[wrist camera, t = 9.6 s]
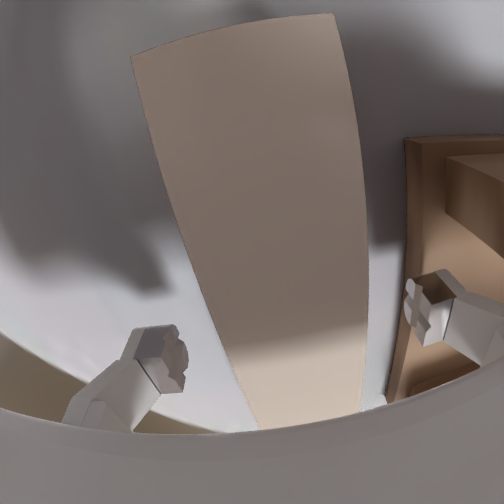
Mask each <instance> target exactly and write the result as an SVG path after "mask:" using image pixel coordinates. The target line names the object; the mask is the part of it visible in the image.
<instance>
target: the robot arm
mask: <svg viewBox="0 0 504 504" xmlns="http://www.w3.org/2000/svg"><path fill="white" fill-rule="evenodd" d="M406 290H407V292H408V293H409V294H408V296H407V297H406V298H405V301H404V311H405V316H406V319H407V321H408V323H409V325H410V326H412V327H414V328H416V331H415V335H416V336H417V338H418V340H419V341H420V343H421V345H422V347H424V346H428V345H431V344H434V343H437V342H440V341H443V340H444V341H443V342H445V343H446V344H448V345H450V346H451V347H453V348H454V349H456V350H457V351H459V352H460V353H462V354H464V355H465V356H467V357H468V358H470V359H471V360H473V361H474V362H476V363H477V364H479V365H480V368H479V369H477V370H475V371H472V372H470V373H468V374H466V375H464V376H461V377H459V378H457V379H455V380H452V381H450V382H448V383H445V384H443V385H440V386H438V387H435V388H433V389H430V390H427V391H425V392H422V393H419V394H416V395H414V396H411V397H408V398H405V399H402V400H399V401H396V402H393V403H389V404H386V405H383V406H379V407H376V408H372V409H369V410H365V411H361V412H358V413H354V414H350V415H345V416H341V417H337V418H332V419H327V420H322V421H317V422H312V423H306V424H301V425H295V426H288V427H281V428H274V429H266V430H257V431H247V432H235V433H219V434H192V435H191V434H190V435H189V434H185V435H182V434H180V435H179V434H176V435H175V434H174V435H173V434H145V433H134V432H133V431H132V430H133V429H134V428H135V427H136V425H137V424H138V423H139V422H140V420H141V419H142V418H143V417H144V415H145V414H146V413H147V412H148V410H149V409H150V408H151V407H152V405H153V404H154V403H155V402H156V400H157V399H158V398H159V397H160V395H161V394H167V393H181V392H183V389H184V383H185V378H186V377H185V375H184V374H183V372H184V371H185V370H186V369H187V368H188V362H189V359H188V351H187V348H186V345H185V343H184V342H183V341H181V340H180V339H178V336H179V331H178V329H177V327H176V326H175V325H173V324H169V325H160V326H149V327H141V328H135V329H133V330H132V332H131V335H130V337H129V339H128V342H127V344H126V346H125V349H124V351H123V353H122V356H121V358H120V360H116V361H115V362H114V363H112V364H111V365H110V366H109V367H108V368H106V369H105V370H104V371H103V372H102V373H101V374H99V375H98V376H97V377H96V378H95V379H93V380H92V381H91V382H90V383H89V384H88V385H86V386H85V387H84V388H83V389H82V390H81V391H79V392H78V393H77V394H76V395H75V396H74V397H73V398H72V399H71V402H70V404H69V406H68V408H67V411H66V413H65V415H64V418H63V420H62V422H61V423H57V422H52V421H48V420H43V419H39V418H35V417H30V416H27V415H23V414H19V413H15V412H11V411H9V410H6V409H3V408H0V504H504V304H503V303H500V302H497V301H495V300H492V299H489V298H487V297H484V296H482V295H479V294H476V293H474V292H471V293H469V292H468V291H467V290H466V289H465V288H464V287H463V286H462V285H461V284H460V283H459V282H458V280H457V279H456V278H455V277H454V276H453V275H452V274H451V273H450V272H449V271H448V270H447V269H444V268H443V269H440V270H437V271H433V272H432V273H428V274H424V275H421V276H417V277H413V278H410V279H408V280H407V283H406Z"/></svg>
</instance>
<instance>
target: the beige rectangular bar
mask: <svg viewBox="0 0 504 504" xmlns="http://www.w3.org/2000/svg"><path fill="white" fill-rule="evenodd" d="M130 58H131V62H132V67H133V71H134V75H135V79H136V84H137V88H138V92H139V96H140V99H141V103H142V107H143V111H144V115H145V119H146V122H147V126H148V130H149V133H150V137H151V140H152V144H153V147H154V151H155V154H156V158H157V161H158V164H159V168H160V171H161V174H162V177H163V181H164V184H165V187H166V190H167V193H168V197H169V200H170V203H171V206H172V209H173V212H174V215H175V218H176V221H177V224H178V227H179V230H180V233H181V236H182V239H183V242H184V245H185V247H186V250H187V253H188V256H189V259H190V262H191V264H192V267H193V270H194V273H195V275H196V278H197V281H198V284H199V286H200V289H201V292H202V294H203V297H204V299H205V302H206V305H207V307H208V310H209V312H210V315H211V318H212V320H213V323H214V325H215V328H216V330H217V333H218V335H219V338H220V340H221V342H222V345H223V347H224V350H225V352H226V355H227V357H228V359H229V362H230V364H231V366H232V369H233V371H234V373H235V376H236V378H237V380H238V383H239V385H240V387H241V390H242V392H243V394H244V396H245V399H246V401H247V403H248V405H249V407H250V410H251V412H252V414H253V416H254V418H255V420H256V423H257V425H258V427H259V429H260V430H266V429H274V428H281V427H288V426H295V425H301V424H306V423H312V422H317V421H322V420H327V419H332V418H337V417H341V416H345V415H350V414H354V413H358V412H360V407H361V399H362V391H363V382H364V371H365V360H366V346H367V328H368V298H369V259H368V229H367V211H366V197H365V185H364V174H363V165H362V156H361V148H360V140H359V133H358V126H357V119H356V113H355V107H354V101H353V96H352V90H351V85H350V80H349V75H348V70H347V66H346V61H345V57H344V53H343V48H342V44H341V40H340V36H339V32H338V29H337V25H336V21H335V18H334V14H333V13H325V14H309V15H297V16H287V17H279V18H272V19H265V20H258V21H253V22H247V23H242V24H237V25H232V26H227V27H223V28H219V29H214V30H210V31H207V32H203V33H199V34H195V35H192V36H188V37H185V38H182V39H179V40H175V41H172V42H169V43H166V44H163V45H160V46H158V47H155V48H152V49H149V50H147V51H144V52H141V53H139V54H136V55H134V56H131V57H130Z"/></svg>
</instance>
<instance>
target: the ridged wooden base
mask: <svg viewBox="0 0 504 504" xmlns="http://www.w3.org/2000/svg"><path fill="white" fill-rule="evenodd" d="M404 146H405V159H406V178H407V244H406V263H405V277H404V288H403V298H402V307H401V315H400V322H399V329H398V336H397V342H396V348H395V354H394V359H393V364H392V369H391V374H390V379H389V383H388V388H387V392H386V396H385V398H386V401H387V404H389V403H393V402H396V401H399V400H402V399H405V398H408V397H411V396H414V395H416V394H419V393H422V392H425V391H427V390H430V389H433V388H435V387H438V386H440V385H443V384H445V383H448V382H450V381H452V380H455V379H457V378H459V377H461V376H464V375H466V374H468V373H470V372H472V371H475V370H477V369H479V368H480V365H479V364H477V363H476V362H474V361H473V360H471V359H470V358H468V357H467V356H465V355H464V354H462V353H460V352H459V351H457V350H456V349H454V348H453V347H451V346H450V345H448V344H446V343H445V342H443V341H444V340H443V341H440V342H437V343H434V344H431V345H428V346H424V347H422V345H421V343H420V341H419V340H418V338H417V336H416V335H415V331H416V328H414V327H412V326H410V325H409V323H408V321H407V319H406V316H405V311H404V301H405V298H406V297H407V296H408V294H409V293H408V292H407V290H406V283H407V280H408V279H410V278H413V277H417V276H421V275H424V274H428V273H432V272H433V271H437V270H440V269H443V268H444V269H447V270H448V271H449V272H450V273H451V274H452V275H453V276H454V277H455V278H456V279H457V280H458V282H459V283H460V284H461V285H462V286H463V287H464V288H465V289H466V290H467V291H468V292H469V293H471V292H474V293H476V294H479V295H482V296H484V297H487V298H489V299H492V300H495V301H497V302H500V303H503V304H504V135H448V136H428V137H413V138H404Z"/></svg>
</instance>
